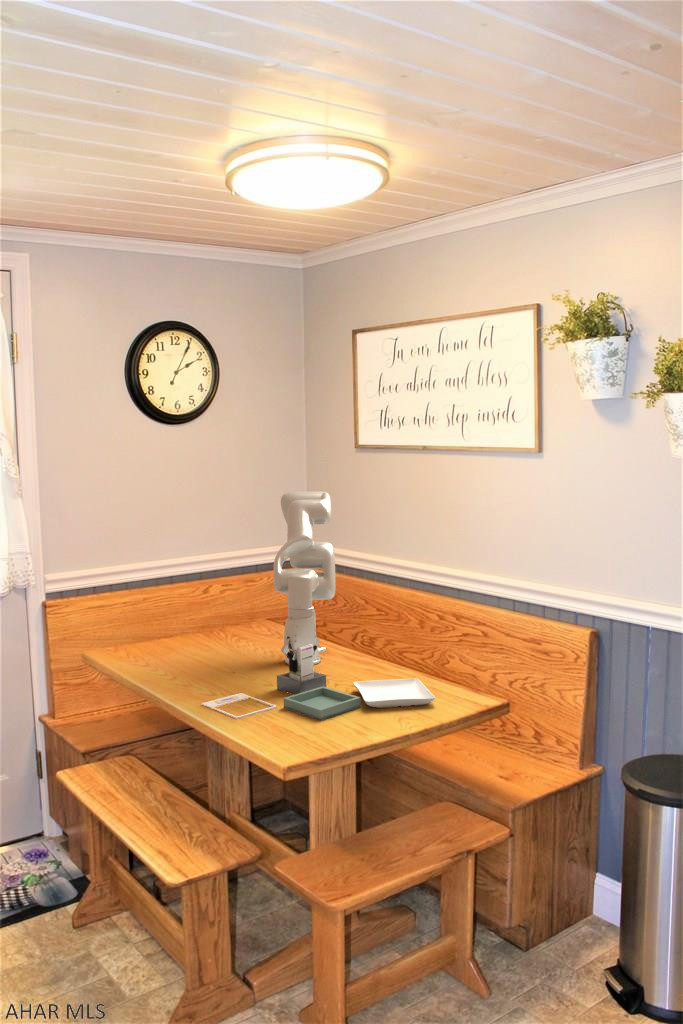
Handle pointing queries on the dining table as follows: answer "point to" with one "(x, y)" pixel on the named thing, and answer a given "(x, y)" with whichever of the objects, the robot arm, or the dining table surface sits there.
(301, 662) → the syrup box
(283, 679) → the sleeve
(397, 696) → the salad plate
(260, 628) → the dining table surface
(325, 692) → the tray
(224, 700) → the photo frame
